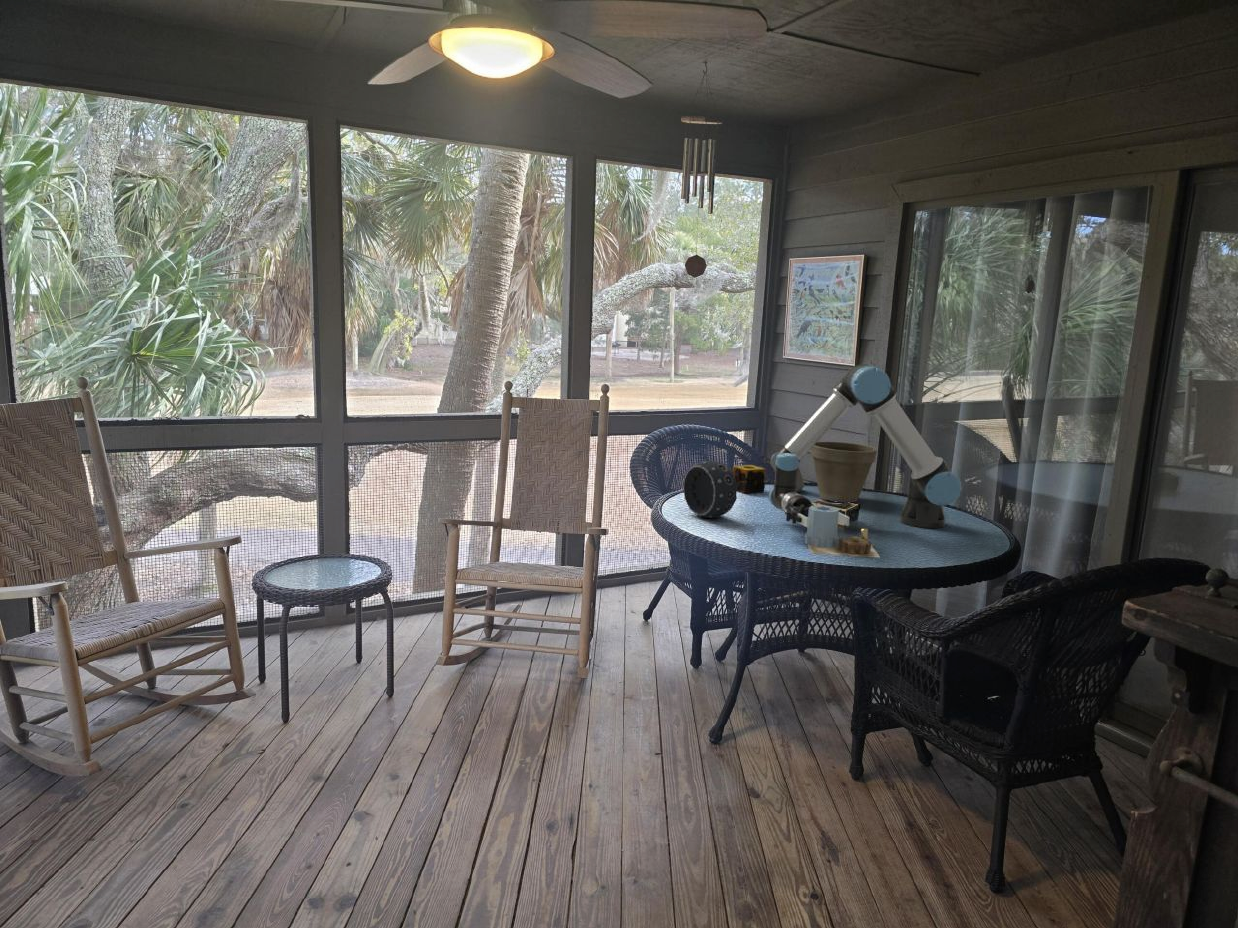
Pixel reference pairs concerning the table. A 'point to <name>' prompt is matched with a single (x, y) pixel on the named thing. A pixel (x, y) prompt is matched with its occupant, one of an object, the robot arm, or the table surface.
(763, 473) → the candle
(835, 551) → the gear board
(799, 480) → the coffee pot
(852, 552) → the fixed gear
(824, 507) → the blue gear
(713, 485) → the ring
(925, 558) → the table surface
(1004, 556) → the table surface
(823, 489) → the plant pot
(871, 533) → the table surface
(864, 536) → the far peg
